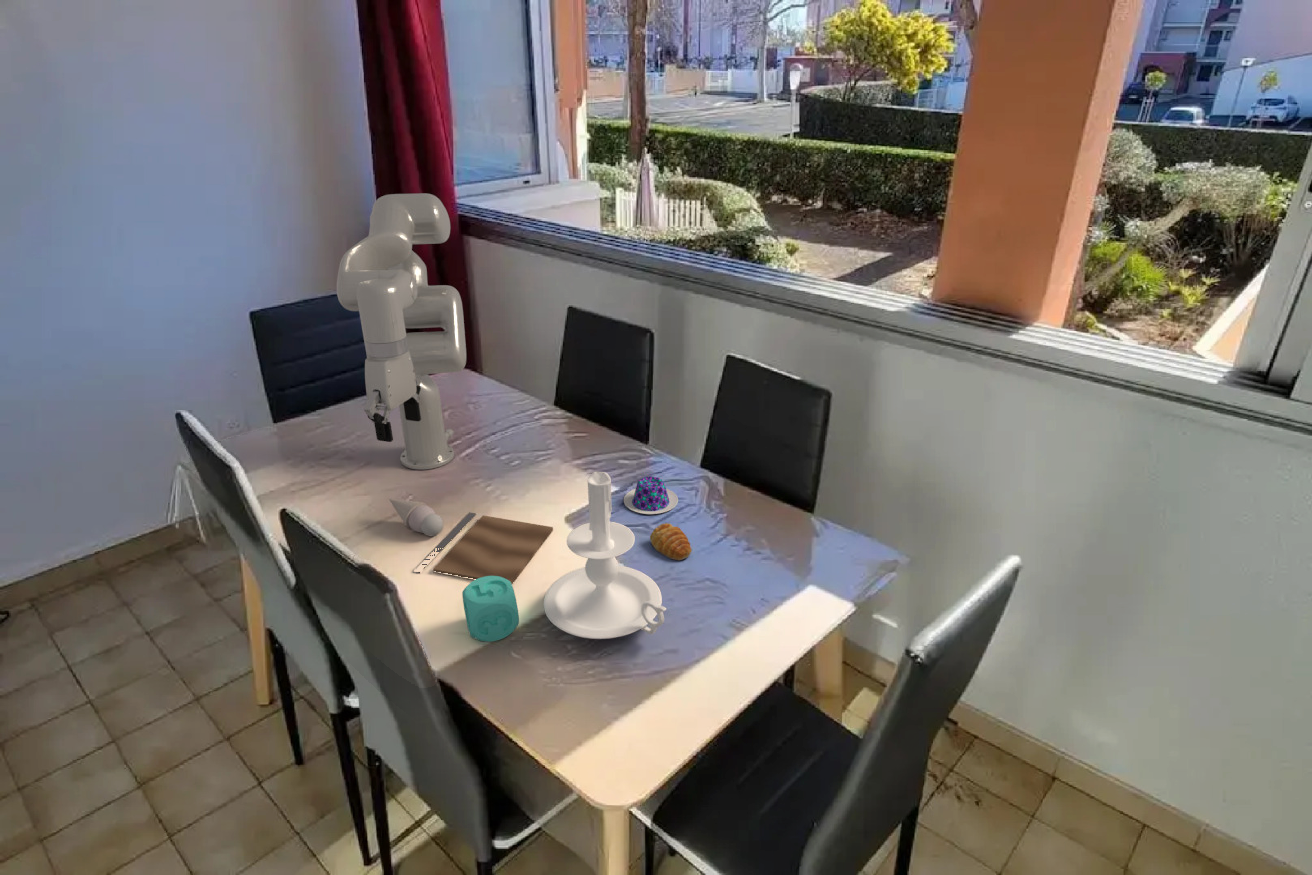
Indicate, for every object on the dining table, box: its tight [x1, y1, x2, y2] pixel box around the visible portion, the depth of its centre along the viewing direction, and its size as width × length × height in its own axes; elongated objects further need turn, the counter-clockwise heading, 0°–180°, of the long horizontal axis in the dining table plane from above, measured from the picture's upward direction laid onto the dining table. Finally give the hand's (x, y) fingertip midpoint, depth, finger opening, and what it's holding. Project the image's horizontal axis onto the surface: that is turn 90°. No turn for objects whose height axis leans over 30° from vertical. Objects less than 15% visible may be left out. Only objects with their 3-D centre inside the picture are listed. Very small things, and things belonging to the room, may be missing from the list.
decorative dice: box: [461, 576, 520, 643], centre depth 134 cm, size 8×8×8 cm
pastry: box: [649, 523, 693, 561], centre depth 156 cm, size 9×7×4 cm
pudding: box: [623, 475, 679, 515], centre depth 172 cm, size 12×12×5 cm
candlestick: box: [543, 471, 667, 640], centre depth 131 cm, size 21×25×28 cm
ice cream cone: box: [388, 498, 444, 537], centre depth 162 cm, size 6×6×15 cm
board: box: [432, 514, 554, 585], centre depth 156 cm, size 20×16×1 cm
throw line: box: [422, 512, 477, 565], centre depth 159 cm, size 22×2×1 cm, turn 164°
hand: (399, 430), depth 154 cm, fingers open, 9 cm apart
